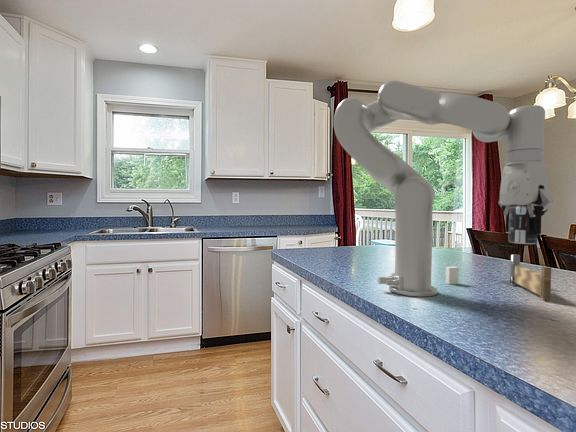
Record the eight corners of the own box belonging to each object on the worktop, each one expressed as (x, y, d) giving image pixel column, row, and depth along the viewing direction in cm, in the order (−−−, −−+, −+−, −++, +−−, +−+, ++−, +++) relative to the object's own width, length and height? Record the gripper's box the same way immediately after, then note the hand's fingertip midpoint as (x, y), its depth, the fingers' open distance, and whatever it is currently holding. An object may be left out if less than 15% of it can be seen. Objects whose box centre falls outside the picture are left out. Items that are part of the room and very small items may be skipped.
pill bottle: (528, 244, 82) (530, 196, 81) (502, 242, 87) (504, 196, 87) (542, 243, 84) (544, 196, 84) (516, 241, 90) (518, 197, 89)
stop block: (449, 284, 106) (449, 267, 106) (445, 282, 108) (445, 266, 108) (458, 284, 107) (458, 267, 107) (454, 282, 109) (454, 266, 109)
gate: (514, 283, 106) (515, 257, 105) (520, 284, 105) (520, 257, 105) (543, 299, 88) (544, 267, 88) (550, 299, 88) (551, 267, 88)
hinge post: (513, 286, 105) (514, 256, 104) (501, 282, 110) (501, 253, 109) (528, 285, 105) (529, 256, 105) (515, 282, 110) (516, 253, 110)
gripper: (485, 162, 93) (483, 230, 94) (541, 153, 76) (538, 236, 77) (511, 163, 94) (509, 230, 95) (571, 154, 77) (568, 236, 78)
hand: (522, 232), depth 86 cm, fingers closed on pill bottle, 6 cm apart
